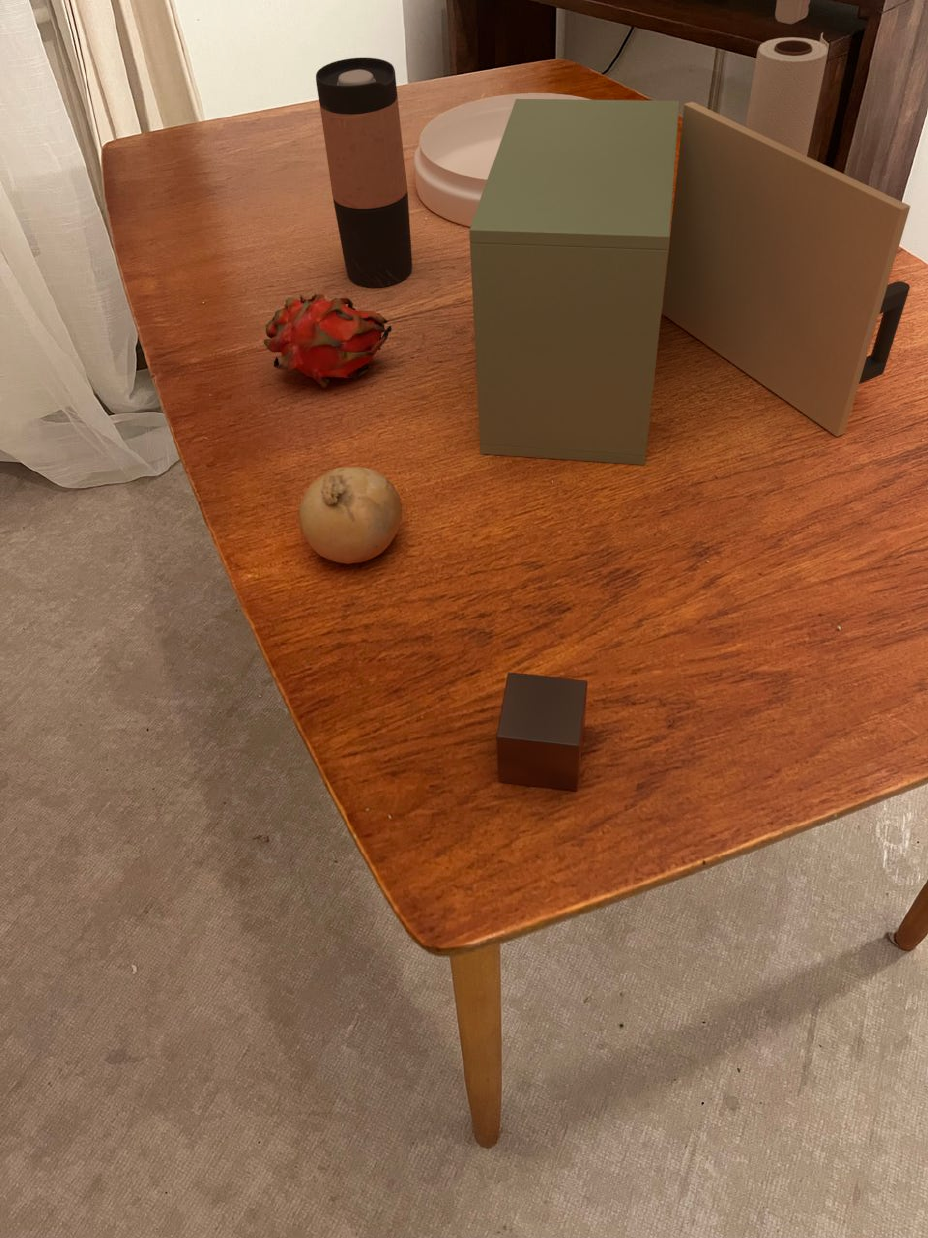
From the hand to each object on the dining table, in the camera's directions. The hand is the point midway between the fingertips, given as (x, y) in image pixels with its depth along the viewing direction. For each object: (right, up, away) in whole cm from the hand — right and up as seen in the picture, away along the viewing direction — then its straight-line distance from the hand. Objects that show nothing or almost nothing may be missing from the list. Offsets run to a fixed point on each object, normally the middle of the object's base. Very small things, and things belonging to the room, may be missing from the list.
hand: (830, 3), depth 72 cm
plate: (-19, +8, +47) cm, 52 cm away
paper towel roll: (+4, -9, +30) cm, 32 cm away
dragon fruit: (-39, -22, +22) cm, 50 cm away
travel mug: (-36, -8, +34) cm, 50 cm away
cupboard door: (+1, -21, +19) cm, 28 cm away
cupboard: (-17, -23, +19) cm, 34 cm away
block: (-22, -54, -9) cm, 59 cm away
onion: (-35, -39, +6) cm, 53 cm away
